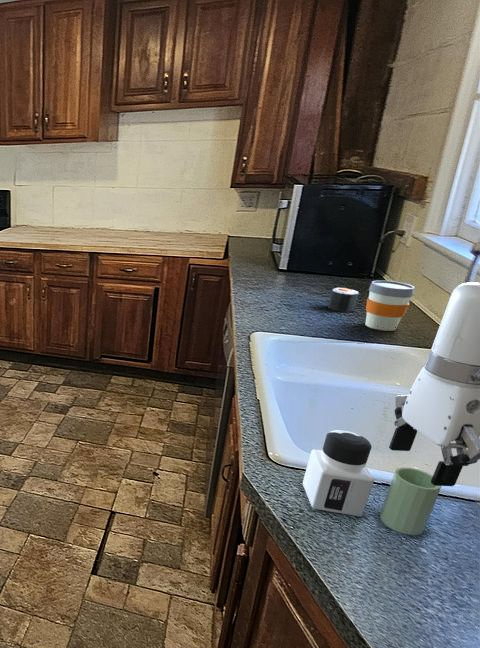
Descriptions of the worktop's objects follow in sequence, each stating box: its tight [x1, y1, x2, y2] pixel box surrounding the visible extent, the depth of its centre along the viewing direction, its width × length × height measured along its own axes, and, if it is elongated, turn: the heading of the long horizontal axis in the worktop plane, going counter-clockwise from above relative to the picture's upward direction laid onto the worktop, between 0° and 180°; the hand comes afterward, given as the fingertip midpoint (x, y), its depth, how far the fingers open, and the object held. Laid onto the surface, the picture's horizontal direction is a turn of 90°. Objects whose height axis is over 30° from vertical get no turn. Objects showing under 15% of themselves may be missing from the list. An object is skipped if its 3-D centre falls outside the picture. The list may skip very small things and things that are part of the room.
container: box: [302, 429, 375, 518], centre depth 91 cm, size 8×8×13 cm
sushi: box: [327, 286, 360, 313], centre depth 203 cm, size 8×8×8 cm
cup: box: [379, 467, 442, 536], centre depth 86 cm, size 6×6×9 cm
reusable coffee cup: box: [364, 280, 416, 332], centre depth 182 cm, size 13×13×15 cm
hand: (419, 466), depth 84 cm, fingers open, 9 cm apart
